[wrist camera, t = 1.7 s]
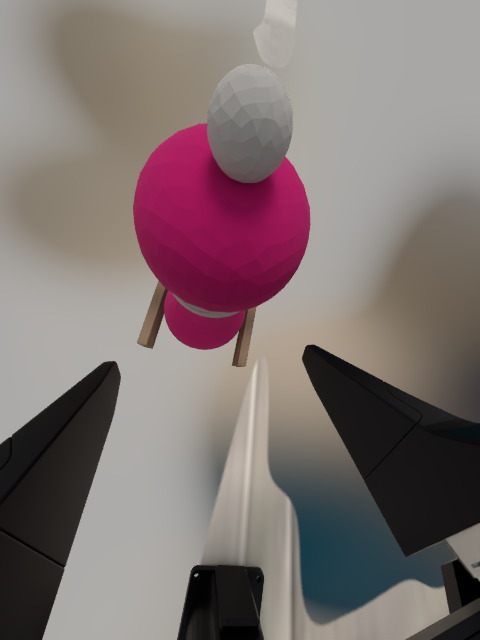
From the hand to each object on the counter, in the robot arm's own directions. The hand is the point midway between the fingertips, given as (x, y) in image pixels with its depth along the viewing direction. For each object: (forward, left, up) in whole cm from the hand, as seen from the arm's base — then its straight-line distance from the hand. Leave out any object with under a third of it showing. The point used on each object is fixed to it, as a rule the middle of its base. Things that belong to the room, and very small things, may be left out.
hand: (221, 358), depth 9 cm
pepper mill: (+5, +1, -13) cm, 14 cm away
